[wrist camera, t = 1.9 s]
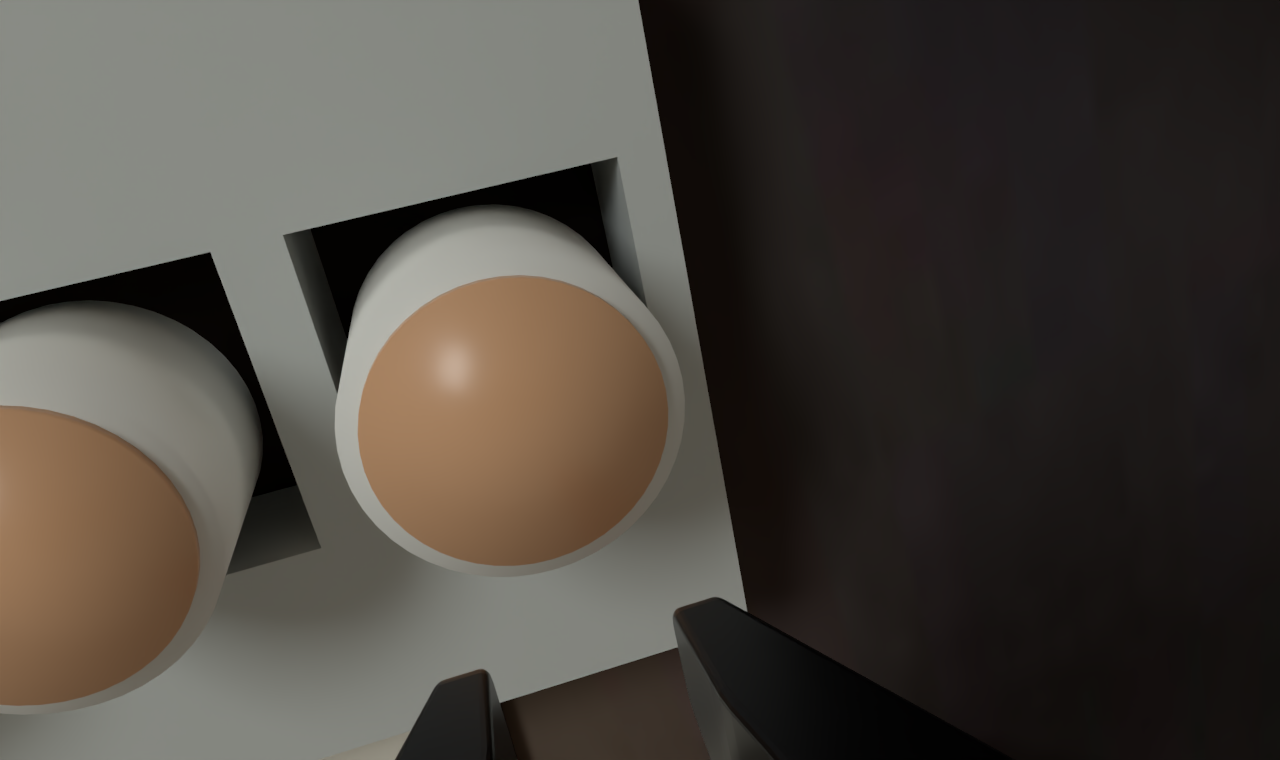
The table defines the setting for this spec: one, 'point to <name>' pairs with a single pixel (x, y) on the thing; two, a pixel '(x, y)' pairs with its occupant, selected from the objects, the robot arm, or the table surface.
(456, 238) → the button
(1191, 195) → the table surface
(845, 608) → the table surface
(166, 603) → the button mid
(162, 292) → the table surface
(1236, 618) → the table surface
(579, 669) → the board
